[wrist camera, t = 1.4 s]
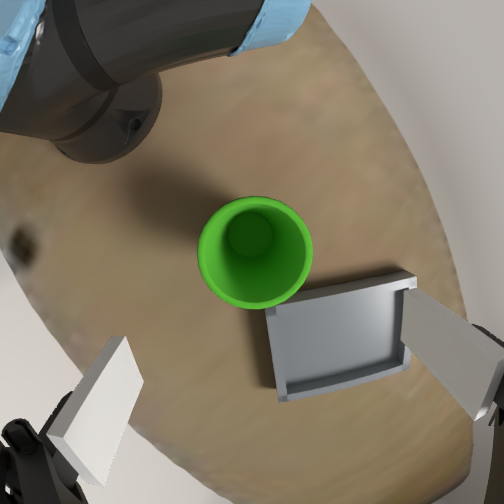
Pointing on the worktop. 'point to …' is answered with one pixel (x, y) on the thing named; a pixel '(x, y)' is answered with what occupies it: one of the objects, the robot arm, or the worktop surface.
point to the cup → (254, 252)
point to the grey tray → (338, 335)
